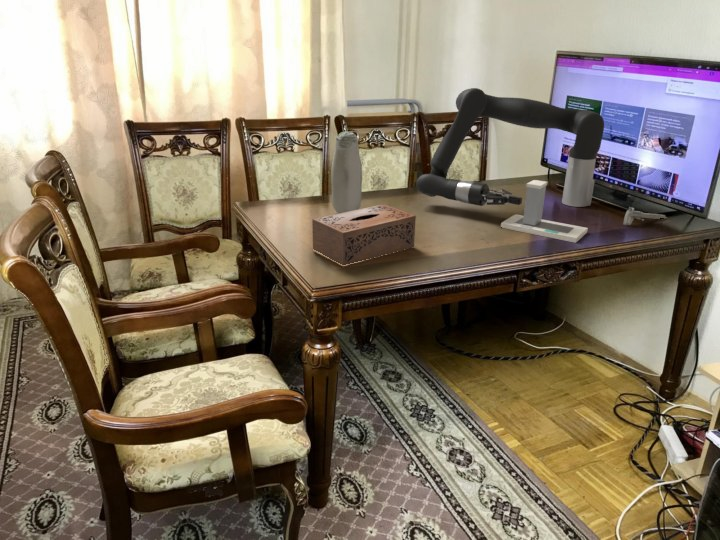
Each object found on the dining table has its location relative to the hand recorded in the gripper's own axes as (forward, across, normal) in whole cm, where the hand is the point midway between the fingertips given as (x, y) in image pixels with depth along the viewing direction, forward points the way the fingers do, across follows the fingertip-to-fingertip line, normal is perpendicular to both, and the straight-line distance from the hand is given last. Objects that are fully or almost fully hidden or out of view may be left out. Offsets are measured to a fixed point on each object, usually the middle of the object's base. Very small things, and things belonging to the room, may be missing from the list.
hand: (521, 201), depth 189 cm
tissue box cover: (-27, -50, +8) cm, 57 cm away
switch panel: (+8, 0, +8) cm, 12 cm away
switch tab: (+4, 0, +6) cm, 8 cm away
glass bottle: (-51, -26, +8) cm, 58 cm away
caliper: (+33, +30, +9) cm, 45 cm away
